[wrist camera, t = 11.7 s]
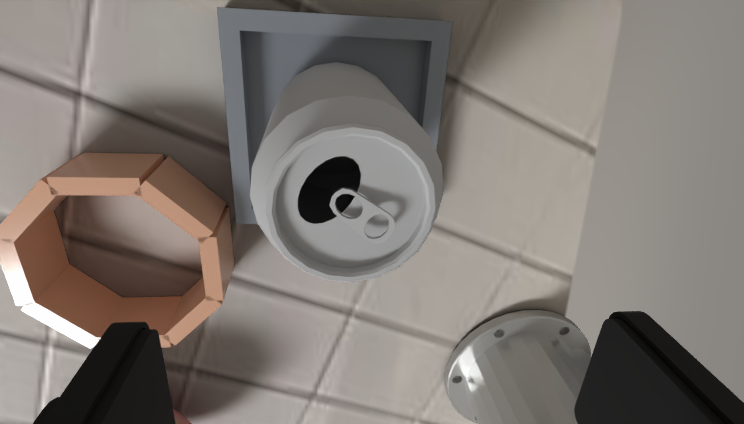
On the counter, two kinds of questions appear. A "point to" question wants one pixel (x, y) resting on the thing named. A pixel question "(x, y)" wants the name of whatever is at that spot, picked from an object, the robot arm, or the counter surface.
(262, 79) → the slate tray
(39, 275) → the terracotta ring
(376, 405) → the counter surface
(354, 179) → the can
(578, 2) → the counter surface
